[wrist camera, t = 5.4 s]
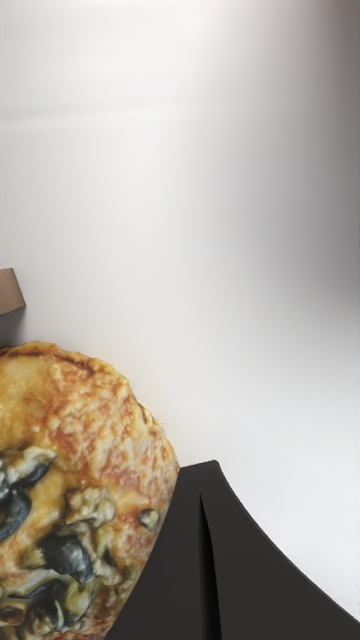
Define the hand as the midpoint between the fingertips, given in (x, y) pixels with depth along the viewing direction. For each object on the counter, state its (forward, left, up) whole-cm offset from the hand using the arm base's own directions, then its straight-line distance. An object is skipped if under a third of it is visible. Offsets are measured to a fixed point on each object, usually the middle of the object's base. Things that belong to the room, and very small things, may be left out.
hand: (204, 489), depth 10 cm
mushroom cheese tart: (+1, +6, -2) cm, 6 cm away
